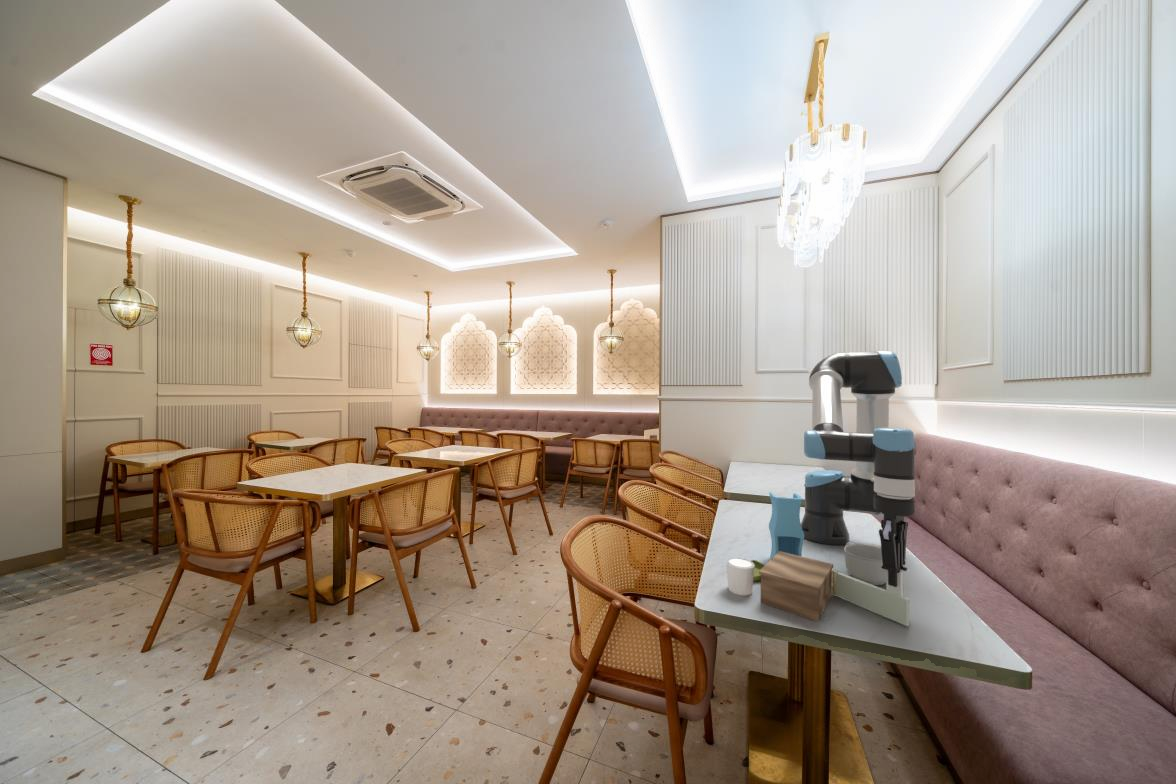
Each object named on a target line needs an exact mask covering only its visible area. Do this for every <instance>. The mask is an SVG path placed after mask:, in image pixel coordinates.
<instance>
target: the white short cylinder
mask: <svg viewBox="0 0 1176 784" xmlns="http://www.w3.org/2000/svg"><path fill="white" fill-rule="evenodd" d="M725 564H726V576H727V577H726V578H727V585H728V586H727V587H728V590H729V591H730V592H731V593H732V594H735V595H737V596H738V595H739V596H744V597H745V596H750V595H752V593H753V587H754V581H753V577H754V567H755V564H754V563H753V562H751V559H750V560H749V559H747V558H743V557H729V558H727V559H726V561H725Z"/></svg>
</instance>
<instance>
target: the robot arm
mask: <svg viewBox="0 0 1176 784" xmlns="http://www.w3.org/2000/svg"><path fill="white" fill-rule="evenodd" d="M902 381H903V380H902V370H901V365H900V361H899V358H898V356H897V354H896V353H895V352H893V351H890V350H889V351H887V350H875V351H872V350H871V351H857V352H856V351H855V352H839V353H833V354H831V355H828V356H826V357H824V358H822V360H820V361H819V362H818V363H817V364H816V365H815V366H814V367H813V369H812V370H811V372H810V375H809V378H808V385H809V387H810V390H812V397H811V398H812V404H811V405H812V412H811V413H812V414H811V418H812V419H811V421H812V422H811V423H812V425H811V430H806V431H805V432H804V435H803V450H804V451H803V453H804V456H805V457H807V458H810V459H818V460H825V461H827V460H828V461H843V462H844V461H845V462H855V464H856V465H855V467H854V468H853V469H852V470H851V471H850V475H849V476H848V475H844V472H843V471H840V470H833V469H830V470H829V469H828V470H827V469H825V470H814V471H809V472H808V473H806V474H805V475H804V486H803V487H804V515H803V517H802V520H801V521H800V523H801V527H802V530H803V533H804V540H809V541H811V542H814V543H819V544H824V545H830V546H832V545H834V546H835V545H836V546H843V545H844V546H845V545H846V543H848V542H850V533H849V530H848V527H847V525H846V522H845V519H844V511H846V512H848V511H849V512H855V513H863V514H870V515H871V514H872V515H875V516H880V515H881V516H883V519H881V520H880V521H881V522H880V527H881V528H882V529H881V528H880V529H878V535H879V538H880V548H881V551H882V562H883V566H881V568H882V569H886V583H885V586H886V587H885V590H888V591H890V592H893V593H896V594H898V595H901V596H904V595H903V594H904V591H903V578H904V577H903V571H904V572H907V571H908V567H904V566H905V565H906V557H907V556H906V555H907V554H906V553H907V538H908V537H907V535H908V534H907V533H908V527H909V523H908V521H905V518H907V517H912V516H914V515H915V514H916V501H915V499H914V498H913V497H916V478H915V447H916V443H915V435H914V434H915V433H914V431H912V429H908V428H902V427H901V428H899V427H898V428H897V427H889V419H890V418H889V415H890V413H889V411H890V407H889V406H890V398H891V397H892V396H894V395H895V394H896V388H897V389H899V388H900V387H902V385H903V384H902ZM842 388H846V389H847V388H850V389H851V391H850V393H851V394H852V396H854V397H855V398H856V423H855V424H856V425H855V426H856V429H855V431H856V432H851V431H850V432H849V431H844V423H843V422H844V421H843V412H842V411H843V410H842V397H841V396H842V395H841V394H842V393H841V390H842Z"/></svg>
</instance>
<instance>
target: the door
mask: <svg viewBox="0 0 1176 784" xmlns="http://www.w3.org/2000/svg"><path fill="white" fill-rule="evenodd" d="M832 595H833V596H836V597H839V598H841V599H843V600H845V601H848V602H849V603H850V602H851V603H852V604H855V605H857V606H859V607H862V608H864V609H865V610H869V611H871V612H874V613H876V614H878V615H881V616H883V617H884V618H887V619H890V620H892V621H894V622H896V623H899V624H902V625H904V626H906V627H908V626H909V625H910V622H911V620H910V618H911V617H910V598H908V597H906V596H904V595H903V596H901V595H898V594H896V593H893V592H890V591H888V590H886V588H882V587H879V586H878V585H872V584H869V583H866V582H864V581H861V580H858V579H856V578H854V577H853V576H851V575H848V574H845V573H842V572H839V571H836V570H832Z"/></svg>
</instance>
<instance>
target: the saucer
mask: <svg viewBox="0 0 1176 784" xmlns="http://www.w3.org/2000/svg"><path fill="white" fill-rule="evenodd" d="M750 561H751V562H753V563H754V564H755V567H754V577H753V582H755V581H761V574H759V571H760V570H761V569H762V568H763V567H764V566H765V565H766V564H764V563H762V562H760V561H758V560H756V559H755V560H754V559H752V560H751V559H750Z"/></svg>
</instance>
